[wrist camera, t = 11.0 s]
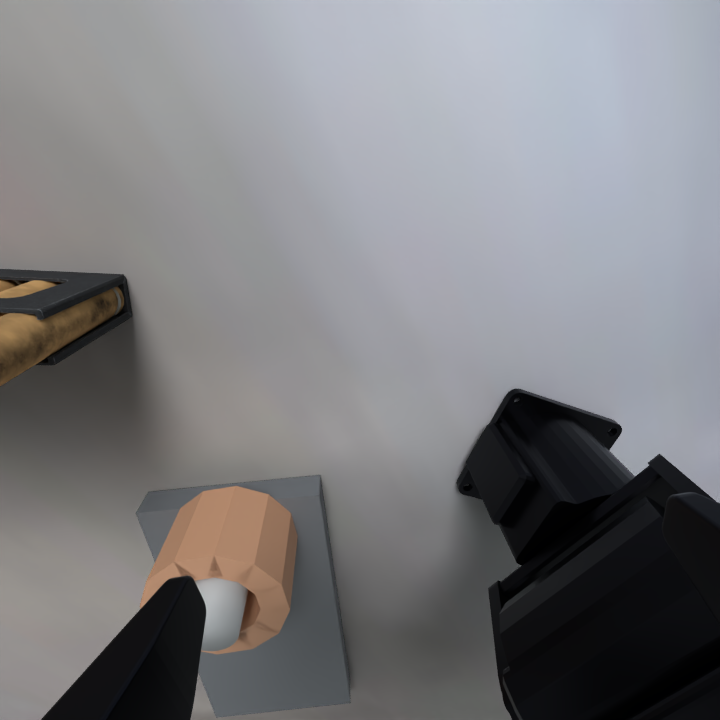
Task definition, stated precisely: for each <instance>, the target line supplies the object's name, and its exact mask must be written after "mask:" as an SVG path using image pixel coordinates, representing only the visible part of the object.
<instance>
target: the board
mask: <svg viewBox="0 0 720 720" xmlns="http://www.w3.org/2000/svg"><path fill="white" fill-rule="evenodd" d="M233 486H239V487H242V488H246V489H250V490H254V491H258V492H262V493H266V494H269V495H270V496H271V497H273V498H274V499H275V500H276V501H277V502H278V503H280V504H281V505H282V506H283V507H284V508H286V509H287V510H288V511H289V512H290V513H291V515H292V518H293V522H294V525H295V529H296V532H297V536H298V538H297V548H296V557H295V567H294V577H293V586H292V596H291V605H290V611H289V613H288V615H287V618H286V620H285V622H284V624H283V626H282V628H281V630H280V632H279V634H277V635H275V636H274V637H272V638H270V639H269V640H267V641H265V642H264V643H262V644H260V645H259V646H257V647H255V648H254V649H250V650H244V651H237V652H230V653H224V654H212V653H207V652H201V656H200V662H199V669H198V672H199V675H200V677H201V680H202V682H203V685H204V688H205V690H206V693H207V695H208V698H209V700H210V703H211V705H212V708H213V710H214V713H215V715H216V718H217V717H226V716H235V715H244V714H254V713H263V712H272V711H281V710H290V709H299V708H308V707H318V706H327V705H336V704H345V703H351V702H350V676H349V669H348V662H347V656H346V649H345V642H344V635H343V628H342V621H341V615H340V608H339V601H338V594H337V587H336V581H335V574H334V567H333V560H332V553H331V546H330V540H329V533H328V526H327V519H326V512H325V505H324V499H323V492H322V485H321V478H320V475H315V476H305V477H295V478H285V479H274V480H264V481H254V482H244V483H234V484H224V485H214V486H203V487H193V488H183V489H173V490H163V491H153V492H148V494H147V495H146V497H145V499H144V500H143V502H142V504H141V505H140V507H139V509H138V510H137V512H136V515H137V517H138V520H139V523H140V525H141V528H142V530H143V533H144V535H145V538H146V540H147V543H148V545H149V548H150V550H151V553H152V556H153V558H154V561H155V562H156V559H157V557H158V555H159V553H160V551H161V549H162V547H163V544H164V542H165V540H166V538H167V536H168V534H169V532H170V529H171V527H172V525H173V523H174V521H175V519H176V517H177V514H178V512H179V510H180V508H181V507H183V506H184V505H185V504H187V503H188V502H189V501H191V500H192V499H193V498H195V497H196V496H197V495H199V494H200V493H201V492H203V491H207V490H213V489H220V488H226V487H233ZM195 583H196V585H197V587H198V589H199V591H200V593H201V595H202V597H203V599H204V602H205V605H206V621H205V628H204V635H203V642H202V649H201V650H202V651H219V650H223V649H226V648H228V647H230V646H232V645H233V644H234V643H235V642H236V641H237V639H238V637H239V633H240V628H241V623H242V618H243V613H244V609H245V604H246V599H247V594H248V589H247V588H245V587H244V586H243V585H241V584H240V583H238V582H234V581H229V580H224V579H220V578H209V579H202V580H196V581H195Z"/></svg>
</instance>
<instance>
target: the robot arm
mask: <svg viewBox="0 0 720 720" xmlns="http://www.w3.org/2000/svg"><path fill="white" fill-rule="evenodd" d="M518 397H520V400H519V401H517V402H514V400H515V399H516V398H518ZM611 428H612V429H611ZM609 429H611V430H610V431H608V430H609ZM621 432H622V428H621V426H620V425H619V424H618V423H617V422H615V421H614V420H612V419H609V418H606V417H603V416H600V415H597V414H594V413H591V412H588V411H585V410H582V409H579V408H575V407H572V406H569V405H566V404H563V403H560V402H557V401H554V400H551V399H548V398H545V397H542V396H539V395H536V394H533V393H530V392H527V391H524V390H521V389H513V390H511V391H510V392H509V393H508V394H507V395H506V397H505V398H504V400H503V402H502V404H501V405H500V407H499V409H498V411H497V412H496V414H495V416H494V418H493V419H492V421H491V423H490V424H489V425H487V426H486V428H485V430H484V432H483V433H482V435H481V437H480V439H479V440H478V442H477V444H476V446H475V447H474V449H473V451H472V453H471V454H470V456H469V458H468V460H467V461H466V466H465V468H464V470H463V471H462V473H461V475H460V477H459V478H458V480H457V487H458V489H459V491H460V493H462V494H464V495H467V496H471V497H475V498H478V499H482V500H483V502H484V504H485V506H486V508H487V511H488V513H489V515H490V517H491V519H492V521H493V523H494V524H496V525H499V526H500V528H501V530H502V532H503V534H504V537H505V539H506V541H507V543H508V545H509V547H510V549H511V551H512V554H513V556H514V558H515V560H516V562H517V563H518V564H520V565H522V566H521V567H519V568H518V569H517V570H515V571H514V572H513V573H512V574H510V575H509V576H508V577H506V578H505V579H504V580H503V581H497V582H496V583H495V584H493V585H492V586H491V587H490V588H489V589H488V590H489V599H490V608H491V617H492V625H493V634H494V643H495V652H496V661H497V669H498V677H499V682H500V687H501V691H502V695H503V701H504V705H505V707H506V709H507V710H508V712H509V713H510V716H511V718H512V720H720V503H718V502H716V501H715V500H714V499H713V498H711V497H710V496H709V495H708V494H707V493H705V492H704V491H703V490H702V489H701V488H699V487H698V486H697V485H696V484H695V483H694V482H692V481H691V480H690V479H689V478H688V477H686V476H685V475H684V474H683V473H682V472H680V471H679V470H678V469H677V468H676V467H675V466H673V465H672V464H671V463H670V462H669V461H667V460H666V459H665V458H664V457H663V456H661V455H660V454H659V455H657V456H656V457H655V458H653V459H652V460H651V461H650V462H648V464H649V466H648V467H647V468H646V469H644V470H643V471H642V472H640V473H639V474H638V475H637V476H634V475H633V474H632V473H631V472H630V471H629V470H628V469H627V468H626V467H625V466H624V465H623V464H622V463H621V462H620V461H619V460H618V459H617V458H616V457H615V456H614V455H613V454H612V453H611V452H610V451H609V450H610V448H611V447H612V445H613V444H614V443H615V441H616V440H617V439H618V437H619V436H620V434H621ZM466 484H469V485H468V486H464V485H466ZM205 621H206V605H205V602H204V599H203V597H202V595H201V593H200V591H199V589H198V587H197V585H196V583H195V581H194V579H193V578H192V577H191V576H189V575H186V576H180V577H174V578H170V579H168V580H167V581H166V582H165V583H164V584H163V585H162V586H161V587H160V588H159V589H158V590H157V591H156V592H155V594H154V595H153V596H152V597H151V598H150V599H149V600H148V601H147V602H146V604H145V605H144V606H143V607H142V608H141V609H140V610H139V611H138V612H137V614H136V615H135V616H134V617H133V618H132V619H131V620H130V621H129V622H128V624H127V625H126V626H125V627H124V628H123V629H122V630H121V631H120V632H119V634H118V635H117V636H116V637H115V638H114V639H113V640H112V641H111V642H110V644H109V645H108V646H107V647H106V648H105V649H104V650H103V651H102V652H101V654H100V655H99V656H98V657H97V658H96V659H95V660H94V661H93V662H92V664H91V665H90V666H89V667H88V668H87V669H86V670H85V671H84V672H83V674H82V675H81V676H80V677H79V678H78V679H77V680H76V681H75V682H74V684H73V685H72V686H71V687H70V688H69V689H68V690H67V691H66V692H65V694H64V695H63V696H62V697H61V698H60V699H59V700H58V701H57V702H56V704H55V705H54V706H53V707H52V708H51V709H50V710H49V711H48V712H47V713H46V715H45V716H44V717H43V718H42V719H41V720H190V718H191V714H192V709H193V703H194V697H195V690H196V683H197V676H198V669H199V662H200V656H201V649H202V642H203V635H204V628H205Z"/></svg>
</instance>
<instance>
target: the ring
mask: <svg viewBox="0 0 720 720" xmlns="http://www.w3.org/2000/svg"><path fill="white" fill-rule="evenodd" d="M297 538H298V536H297V532H296V529H295V525H294V522H293V518H292V515H291V513H290V512H289V511H288V510H287V509H286V508H284V507H283V506H282V505H281V504H280V503H278V502H277V501H276V500H275V499H274V498H273V497H271V496H270V495H269V494H266V493H262V492H258V491H254V490H250V489H246V488H242V487H239V486H233V487H226V488H220V489H213V490H207V491H203V492H201V493H200V494H199V495H197V496H196V497H195V498H193V499H192V500H191V501H189V502H188V503H187V504H185V505H184V506H183V507H181V508H180V510H179V512H178V514H177V517H176V519H175V521H174V523H173V525H172V527H171V529H170V532H169V534H168V536H167V538H166V540H165V542H164V544H163V547H162V549H161V551H160V553H159V555H158V557H157V559H156V562H155V564H154V566H153V568H152V570H151V572H150V574H149V577H148V579H147V581H146V585H145V588H144V592H143V596H142V599H141V603H140V608H142V607H143V606H144V605H145V604H146V602H147V601H148V600H149V599H150V598H151V597H152V596H153V595H154V594H155V592H156V591H157V590H158V589H159V588H160V587H161V586H162V585H163V584H164V583H165V582H166V581H167V580H168V579H170V578H174V577H180V576H186V575H189V576H191V577H192V578H193V579H194V581H196V580H202V579H209V578H220V579H224V580H229V581H234V582H238V583H240V584H241V585H243V586H244V587H245V588H247V589H248V594H247V599H246V604H245V609H244V613H243V618H242V623H241V628H240V633H239V637H238V639H237V641H236V642H235V643H234V644H233V645H232V646H230V647H228V648H226V649H223V650H219V651H202V650H201V652H207V653H212V654H224V653H230V652H237V651H244V650H250V649H254V648H255V647H257V646H259V645H260V644H262V643H264V642H265V641H267V640H269V639H270V638H272V637H274V636H275V635H277V634H279V632H280V630H281V628H282V626H283V624H284V622H285V620H286V618H287V615H288V613H289V611H290V605H291V596H292V586H293V577H294V567H295V557H296V548H297Z"/></svg>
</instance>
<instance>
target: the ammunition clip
mask: <svg viewBox="0 0 720 720" xmlns="http://www.w3.org/2000/svg"><path fill="white" fill-rule="evenodd" d="M130 317H132V313H131V307H130V301H129V295H128V289H127V284H126V278H125V276H124V275H123V274H102V273H79V272H57V271H34V270H11V269H0V386H2V385H3V384H5V383H6V382H8V381H10V380H11V379H13V378H15V377H16V376H18V375H19V374H21V373H23V372H24V371H26V370H28V369H29V368H31V367H32V366H34V365H55V364H57V363H58V362H60V361H61V360H63V359H65V358H66V357H68V356H70V355H71V354H73V353H74V352H76V351H78V350H79V349H81V348H82V347H84V346H86V345H87V344H89V343H90V342H92V341H94V340H95V339H97V338H98V337H100V336H102V335H103V334H105V333H106V332H108V331H110V330H111V329H113V328H114V327H116V326H118V325H119V324H121V323H122V322H124V321H126V320H127V319H129V318H130Z"/></svg>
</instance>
